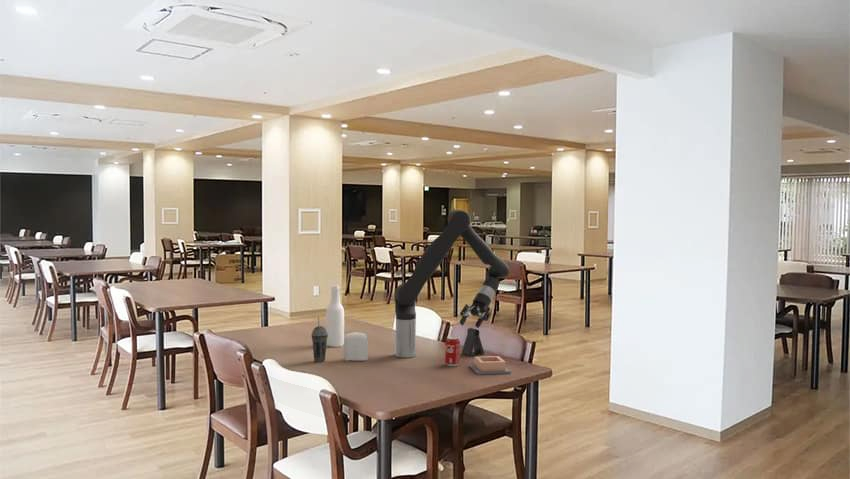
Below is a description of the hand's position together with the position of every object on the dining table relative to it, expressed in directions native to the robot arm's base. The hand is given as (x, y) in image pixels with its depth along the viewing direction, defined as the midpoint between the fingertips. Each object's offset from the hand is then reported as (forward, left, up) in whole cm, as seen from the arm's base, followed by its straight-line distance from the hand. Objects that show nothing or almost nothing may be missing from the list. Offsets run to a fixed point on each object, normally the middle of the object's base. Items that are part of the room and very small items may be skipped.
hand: (468, 325), depth 270 cm
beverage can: (-9, -7, -16) cm, 20 cm away
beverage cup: (-66, +6, -16) cm, 68 cm away
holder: (+5, -17, -16) cm, 24 cm away
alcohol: (-59, +39, -16) cm, 72 cm away
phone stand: (+5, +13, -16) cm, 21 cm away
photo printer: (-50, +7, -16) cm, 53 cm away
